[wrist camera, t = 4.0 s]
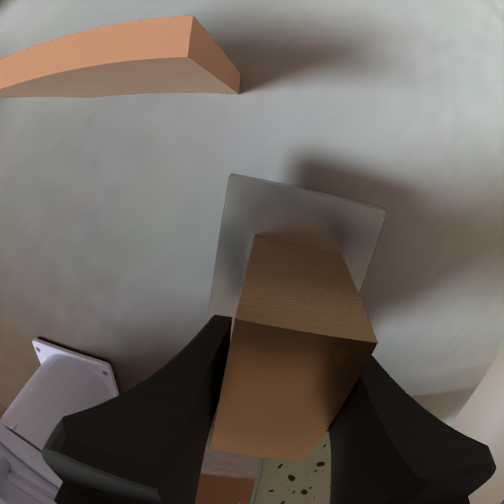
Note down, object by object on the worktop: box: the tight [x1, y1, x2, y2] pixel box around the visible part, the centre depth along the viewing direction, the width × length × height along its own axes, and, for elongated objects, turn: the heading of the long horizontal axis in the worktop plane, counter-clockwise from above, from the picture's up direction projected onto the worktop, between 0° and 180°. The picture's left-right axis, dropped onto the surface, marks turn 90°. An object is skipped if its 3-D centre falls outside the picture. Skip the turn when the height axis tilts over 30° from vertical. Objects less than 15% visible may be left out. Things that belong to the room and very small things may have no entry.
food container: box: [238, 429, 331, 504], centre depth 16 cm, size 12×6×10 cm, turn 94°
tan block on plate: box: [207, 174, 387, 462], centre depth 11 cm, size 10×6×6 cm, turn 169°
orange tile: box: [0, 16, 241, 98], centre depth 9 cm, size 1×8×8 cm, turn 84°
